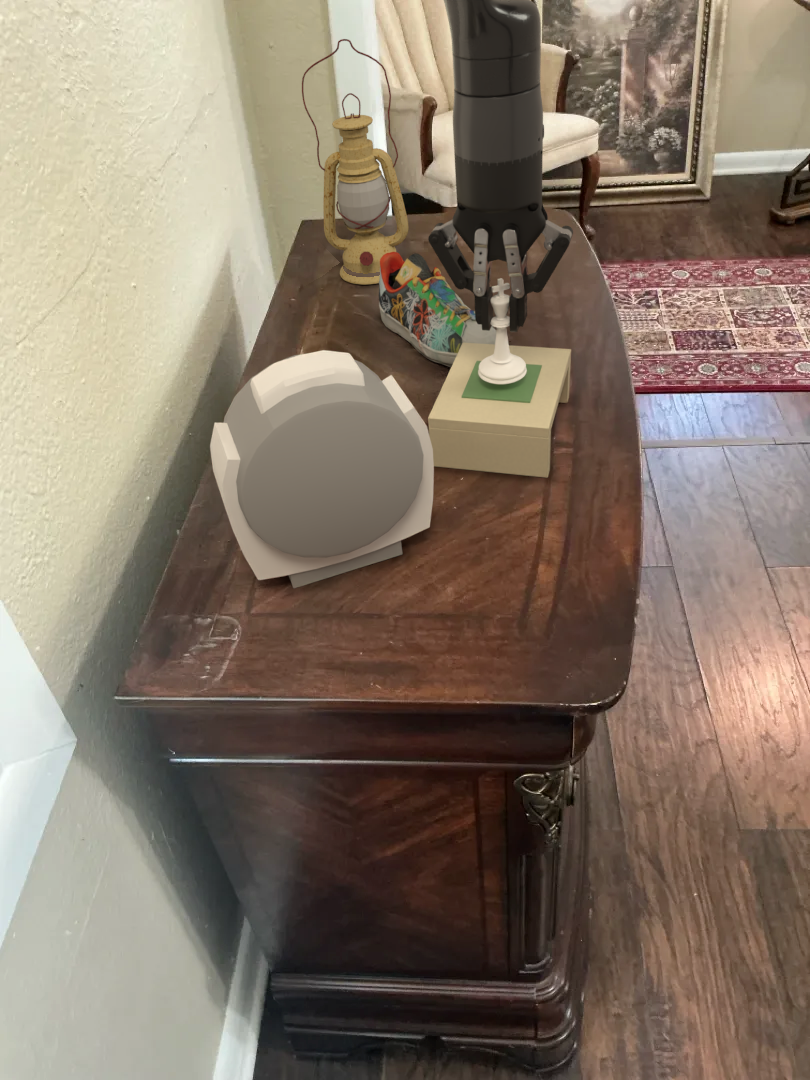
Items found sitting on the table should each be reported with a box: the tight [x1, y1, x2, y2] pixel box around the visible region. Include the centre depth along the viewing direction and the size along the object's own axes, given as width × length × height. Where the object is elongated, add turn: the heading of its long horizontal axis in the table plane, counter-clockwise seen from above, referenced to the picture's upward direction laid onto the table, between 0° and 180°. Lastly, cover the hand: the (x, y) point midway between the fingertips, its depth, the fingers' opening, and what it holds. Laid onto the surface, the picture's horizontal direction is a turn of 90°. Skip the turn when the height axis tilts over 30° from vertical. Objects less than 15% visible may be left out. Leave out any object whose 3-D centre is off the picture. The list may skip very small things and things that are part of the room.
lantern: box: [301, 38, 409, 285], centre depth 115 cm, size 12×10×30 cm
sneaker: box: [378, 251, 496, 368], centre depth 105 cm, size 8×22×10 cm, turn 38°
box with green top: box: [427, 343, 572, 479], centre depth 91 cm, size 12×15×6 cm
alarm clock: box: [209, 349, 435, 589], centre depth 74 cm, size 18×8×20 cm, turn 110°
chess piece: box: [478, 277, 527, 384], centre depth 85 cm, size 5×5×10 cm
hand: (501, 326), depth 85 cm, fingers closed on chess piece
